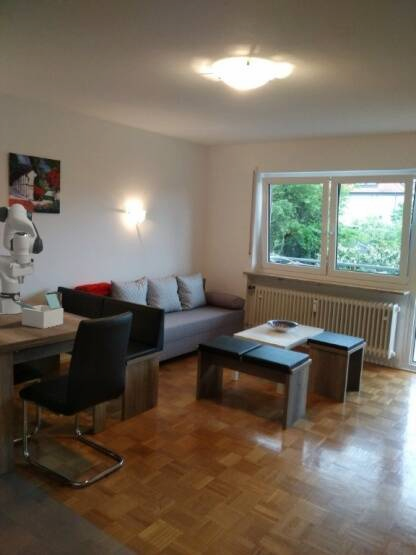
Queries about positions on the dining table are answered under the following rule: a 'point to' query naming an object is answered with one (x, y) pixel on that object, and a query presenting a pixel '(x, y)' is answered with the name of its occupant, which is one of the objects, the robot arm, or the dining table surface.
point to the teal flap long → (25, 305)
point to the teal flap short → (52, 301)
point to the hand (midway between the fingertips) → (21, 283)
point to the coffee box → (59, 297)
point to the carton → (42, 316)
